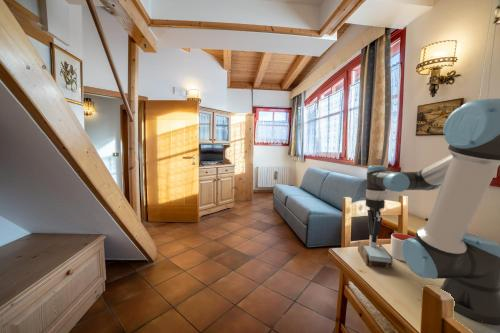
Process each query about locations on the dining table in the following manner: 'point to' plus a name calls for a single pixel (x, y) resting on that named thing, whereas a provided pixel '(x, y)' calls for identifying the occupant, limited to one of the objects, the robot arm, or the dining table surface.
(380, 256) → the cover slab
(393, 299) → the dining table surface
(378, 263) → the walnut box
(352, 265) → the dining table surface
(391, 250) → the cup
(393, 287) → the dining table surface
